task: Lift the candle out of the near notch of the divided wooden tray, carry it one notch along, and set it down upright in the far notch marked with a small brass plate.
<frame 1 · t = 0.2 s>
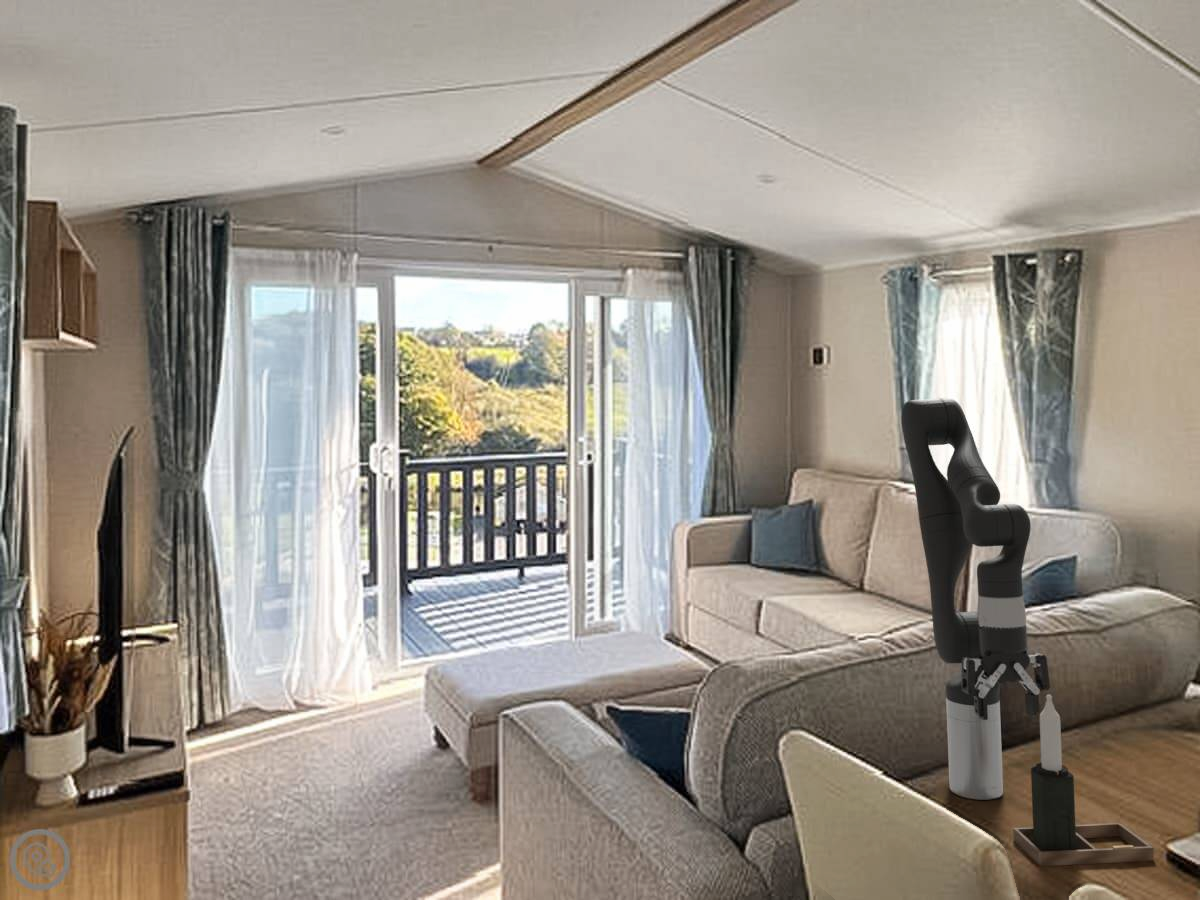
hand: (1007, 717, 156), 18 cm above the table, tool pointing down, fingers open, 8 cm apart
divided wooden tray: (1081, 850, 146), on the table
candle: (1055, 852, 146), resting in divided wooden tray
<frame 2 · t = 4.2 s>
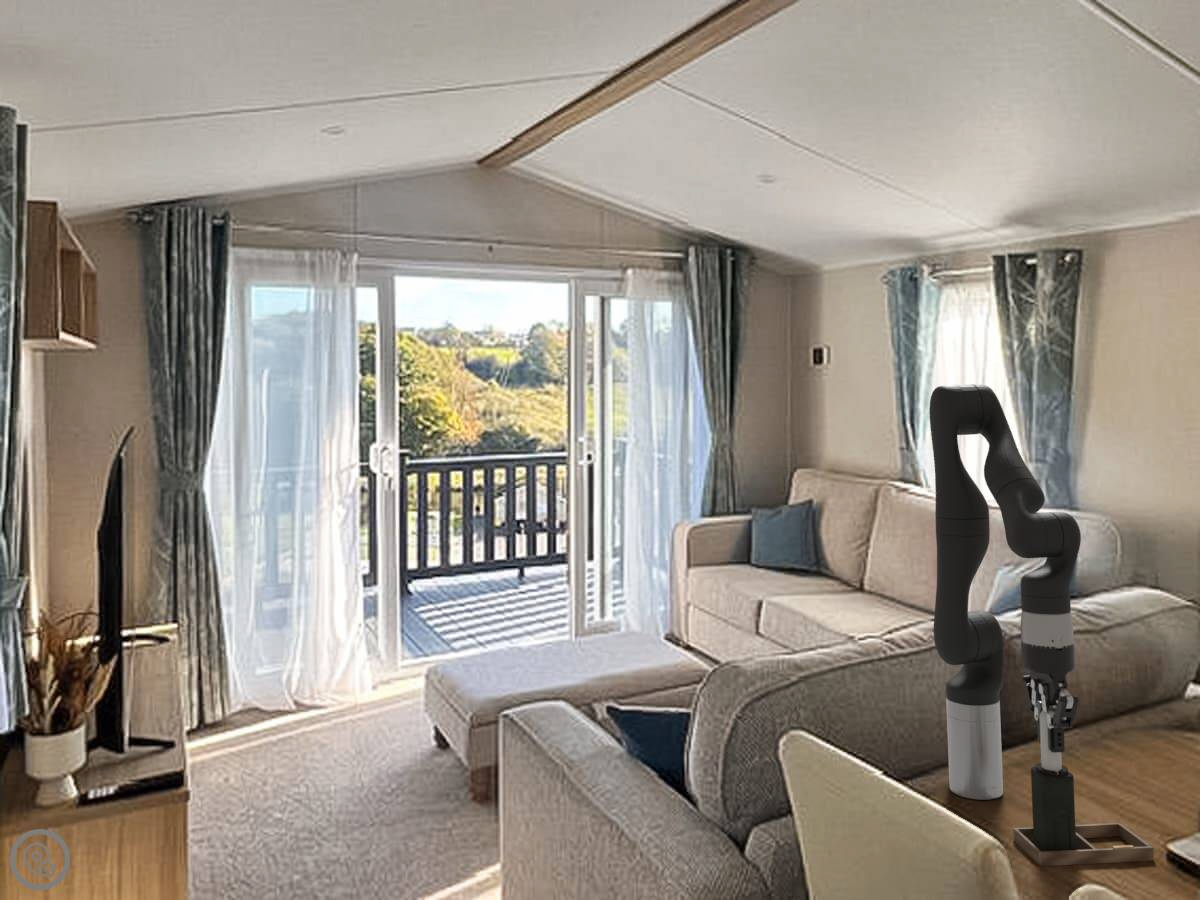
hand: (1051, 747, 145), 17 cm above the table, tool pointing down, fingers closed on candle, 2 cm apart
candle: (1055, 852, 146), resting in divided wooden tray, touching gripper
when the fingers open (18 cm above the table, at t = 11.0 s): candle drops 1 cm, resting in divided wooden tray.
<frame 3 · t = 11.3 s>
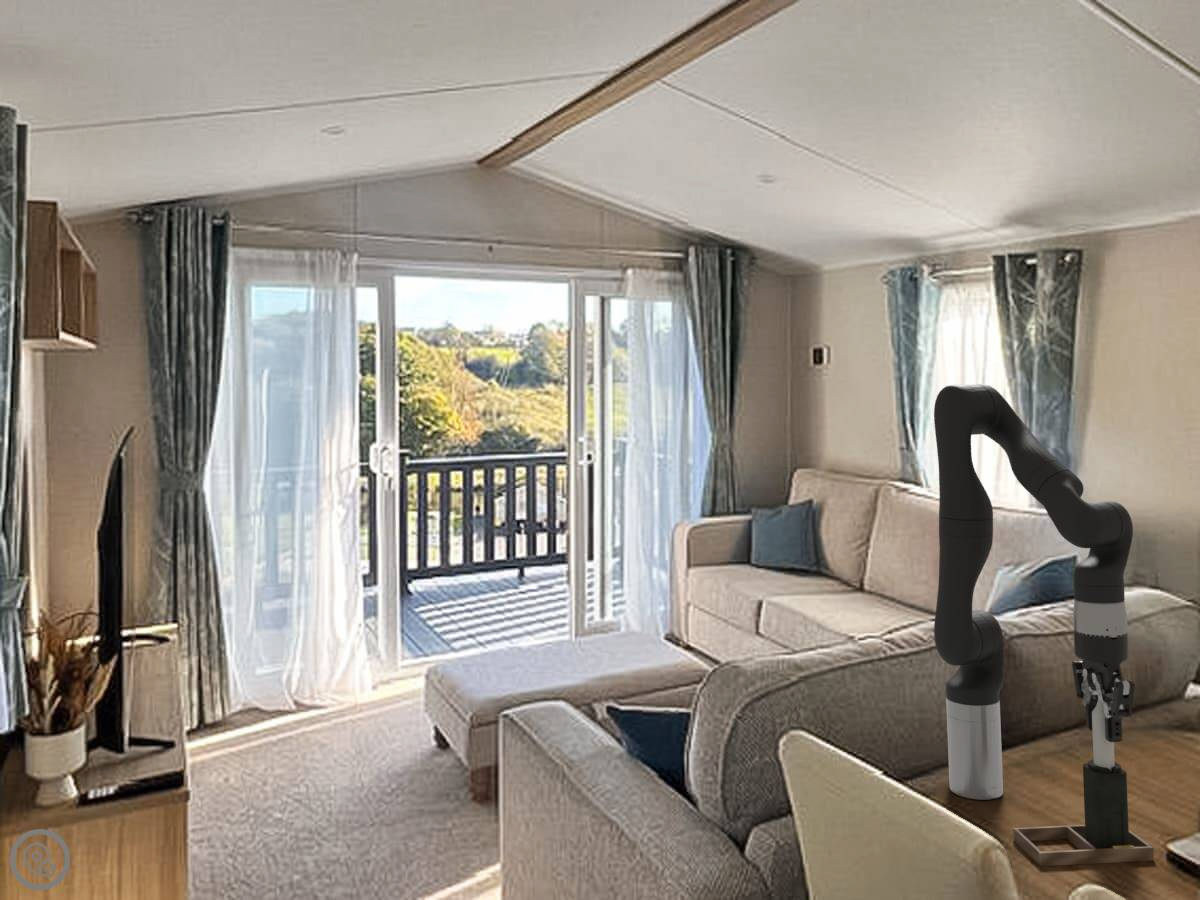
hand: (1104, 734, 145), 18 cm above the table, tool pointing down, fingers open, 5 cm apart
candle: (1107, 849, 146), resting in divided wooden tray
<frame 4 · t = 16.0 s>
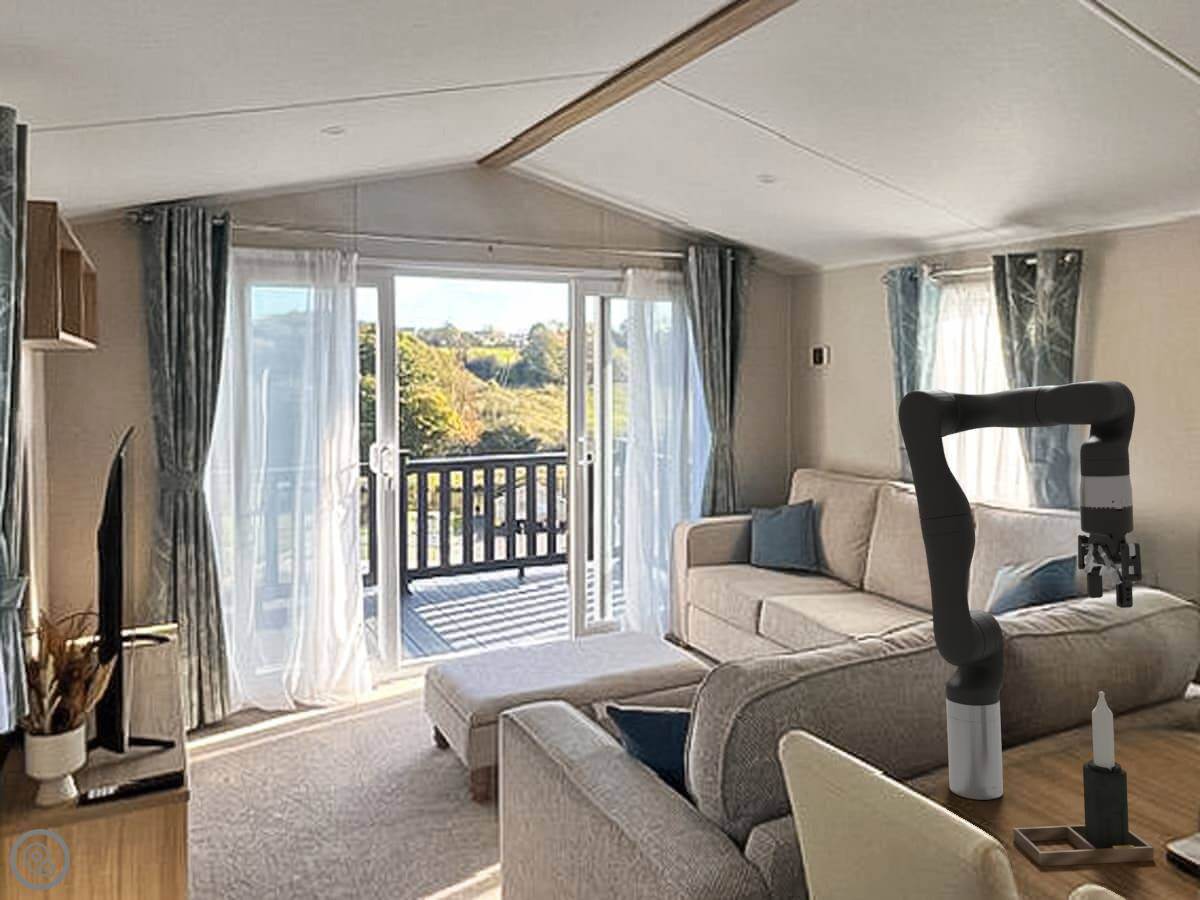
hand: (1109, 602, 150), 38 cm above the table, tool pointing down, fingers open, 8 cm apart
nothing on the table moved.
at the end: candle 0.3 cm from the target spot on the divided wooden tray, point 0.0 cm above the divided wooden tray's base; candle tilted 0°; the gripper is holding nothing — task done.
